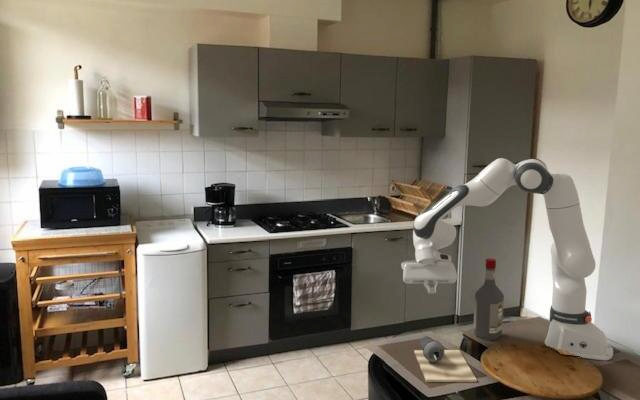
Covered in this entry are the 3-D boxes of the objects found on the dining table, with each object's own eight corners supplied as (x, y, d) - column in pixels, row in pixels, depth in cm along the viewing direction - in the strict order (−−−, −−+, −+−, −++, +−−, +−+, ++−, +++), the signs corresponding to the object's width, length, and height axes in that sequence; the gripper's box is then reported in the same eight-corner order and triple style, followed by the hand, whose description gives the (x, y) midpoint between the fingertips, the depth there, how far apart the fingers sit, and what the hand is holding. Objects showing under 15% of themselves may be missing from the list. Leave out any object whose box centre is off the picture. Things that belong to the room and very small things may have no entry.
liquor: (470, 335, 210) (474, 259, 206) (481, 328, 217) (485, 255, 212) (493, 342, 204) (497, 264, 200) (504, 334, 211) (507, 259, 206)
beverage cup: (439, 347, 198) (454, 363, 178) (421, 355, 198) (434, 373, 178) (431, 328, 198) (445, 343, 178) (412, 337, 198) (424, 353, 178)
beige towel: (414, 352, 196) (414, 350, 196) (459, 352, 196) (459, 349, 196) (426, 382, 174) (426, 379, 174) (476, 381, 174) (476, 379, 174)
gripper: (401, 256, 210) (405, 289, 202) (454, 255, 210) (460, 288, 202) (399, 264, 215) (403, 296, 207) (451, 264, 215) (457, 296, 207)
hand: (432, 292), depth 204 cm, fingers closed
